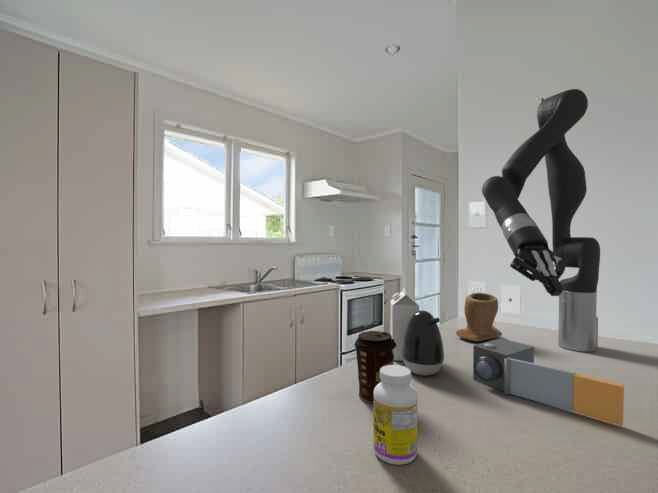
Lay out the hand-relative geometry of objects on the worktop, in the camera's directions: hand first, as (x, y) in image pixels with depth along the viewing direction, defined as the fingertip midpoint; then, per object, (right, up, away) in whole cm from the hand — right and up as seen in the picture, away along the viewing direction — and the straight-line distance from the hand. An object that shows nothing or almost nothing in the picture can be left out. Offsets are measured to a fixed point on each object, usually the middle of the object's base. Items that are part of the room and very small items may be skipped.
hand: (557, 293), depth 73 cm
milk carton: (-27, -21, +23) cm, 42 cm away
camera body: (-9, -21, +7) cm, 24 cm away
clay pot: (+2, -21, +41) cm, 46 cm away
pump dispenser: (-25, -21, +12) cm, 35 cm away
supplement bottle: (-38, -22, -20) cm, 48 cm away
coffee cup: (-39, -22, -1) cm, 44 cm away
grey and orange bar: (-4, -21, -6) cm, 22 cm away
